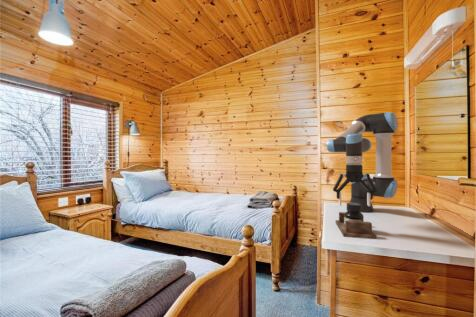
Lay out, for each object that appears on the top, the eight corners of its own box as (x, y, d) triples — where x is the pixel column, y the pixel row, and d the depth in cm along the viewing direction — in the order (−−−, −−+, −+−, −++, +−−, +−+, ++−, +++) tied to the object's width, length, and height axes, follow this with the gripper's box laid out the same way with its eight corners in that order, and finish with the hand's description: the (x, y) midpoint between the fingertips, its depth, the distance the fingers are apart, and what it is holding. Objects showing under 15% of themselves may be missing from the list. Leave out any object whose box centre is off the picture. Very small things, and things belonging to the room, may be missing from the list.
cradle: (362, 224, 130) (362, 212, 129) (376, 238, 108) (376, 224, 108) (335, 222, 133) (335, 211, 133) (343, 236, 111) (343, 222, 111)
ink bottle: (340, 226, 121) (340, 203, 121) (347, 223, 127) (347, 201, 127) (360, 231, 114) (360, 206, 113) (367, 227, 120) (367, 203, 119)
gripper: (329, 164, 119) (329, 206, 119) (384, 164, 113) (384, 208, 114) (327, 163, 126) (327, 202, 127) (378, 163, 120) (378, 204, 121)
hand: (354, 205), depth 120 cm, fingers open, 13 cm apart
